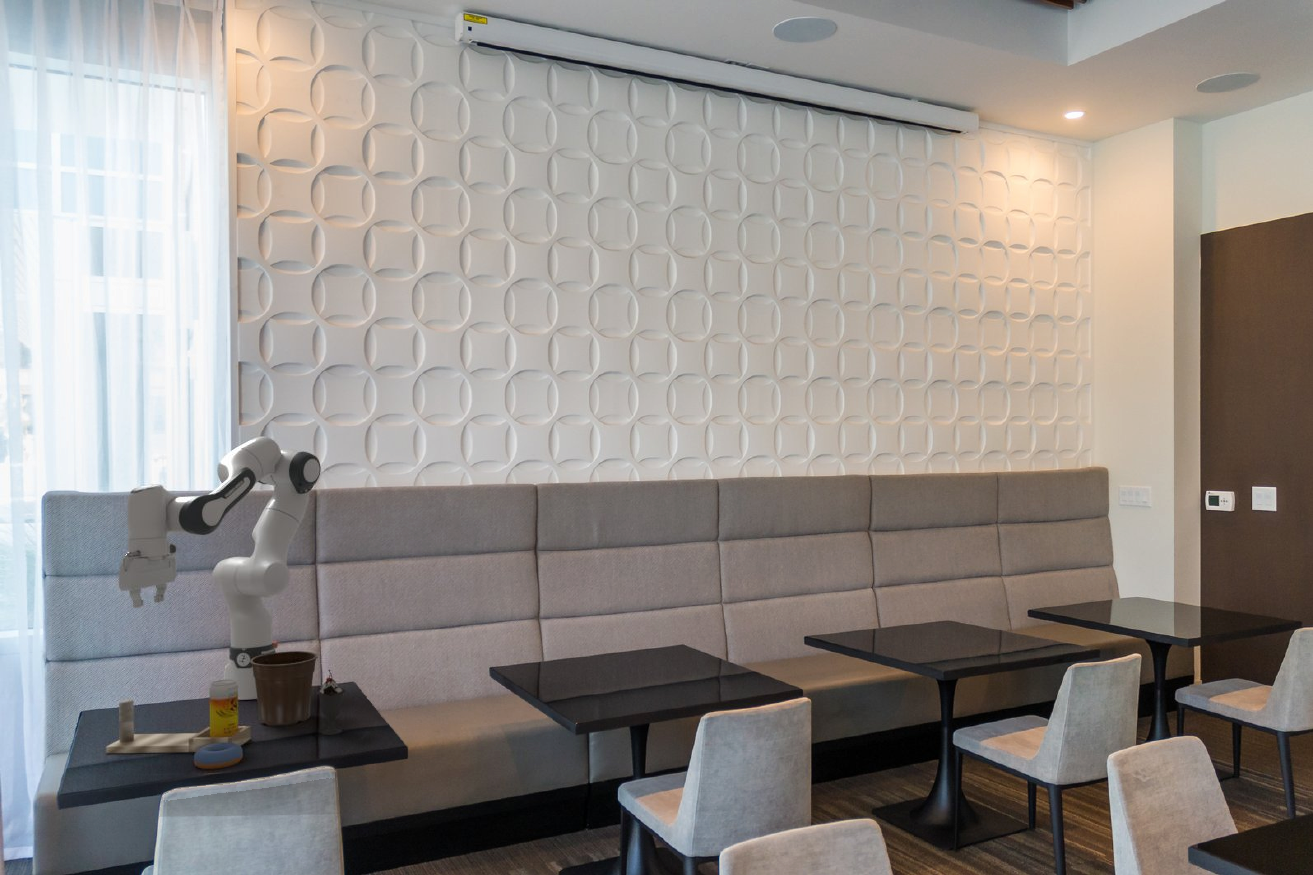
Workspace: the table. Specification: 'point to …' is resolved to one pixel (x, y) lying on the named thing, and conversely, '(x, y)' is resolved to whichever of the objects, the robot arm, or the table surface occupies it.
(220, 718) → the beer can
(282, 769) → the table surface
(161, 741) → the wooden peg stand
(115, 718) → the table surface
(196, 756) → the doughnut
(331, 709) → the sundae
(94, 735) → the table surface
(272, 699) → the plant pot
